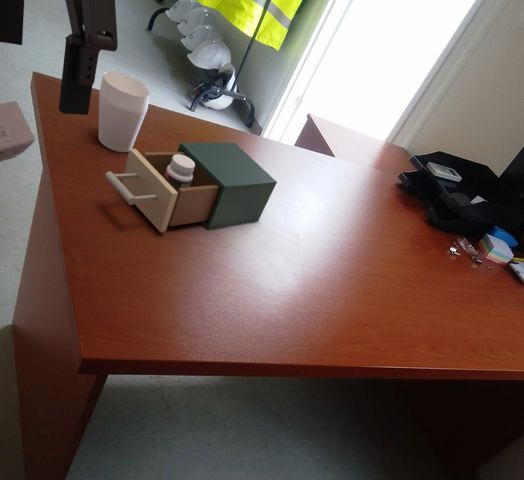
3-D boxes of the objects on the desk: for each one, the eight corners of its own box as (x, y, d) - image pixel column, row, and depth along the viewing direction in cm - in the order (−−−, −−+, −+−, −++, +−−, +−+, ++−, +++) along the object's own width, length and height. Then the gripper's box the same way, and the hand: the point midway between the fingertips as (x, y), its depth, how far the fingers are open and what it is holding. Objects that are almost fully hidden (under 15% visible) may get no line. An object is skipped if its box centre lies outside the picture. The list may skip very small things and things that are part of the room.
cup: (146, 153, 96) (160, 96, 88) (114, 158, 90) (126, 98, 82) (116, 129, 98) (127, 70, 90) (82, 133, 91) (91, 70, 83)
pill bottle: (152, 195, 83) (164, 153, 78) (171, 191, 87) (183, 151, 81) (170, 211, 82) (183, 170, 77) (188, 207, 86) (202, 167, 80)
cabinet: (207, 230, 87) (225, 186, 81) (166, 187, 91) (180, 142, 85) (258, 221, 97) (277, 182, 91) (219, 182, 101) (234, 142, 95)
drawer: (131, 236, 75) (142, 196, 70) (91, 190, 78) (98, 149, 73) (216, 223, 88) (230, 188, 83) (178, 184, 92) (190, 148, 87)
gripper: (202, -133, 32) (137, 145, 46) (28, -250, 39) (17, 21, 54) (109, -186, 27) (67, 145, 41) (-72, -310, 34) (-55, 8, 48)
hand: (39, 75), depth 47 cm, fingers open, 13 cm apart
